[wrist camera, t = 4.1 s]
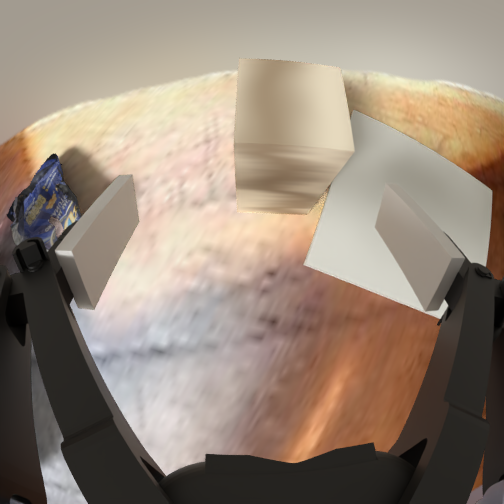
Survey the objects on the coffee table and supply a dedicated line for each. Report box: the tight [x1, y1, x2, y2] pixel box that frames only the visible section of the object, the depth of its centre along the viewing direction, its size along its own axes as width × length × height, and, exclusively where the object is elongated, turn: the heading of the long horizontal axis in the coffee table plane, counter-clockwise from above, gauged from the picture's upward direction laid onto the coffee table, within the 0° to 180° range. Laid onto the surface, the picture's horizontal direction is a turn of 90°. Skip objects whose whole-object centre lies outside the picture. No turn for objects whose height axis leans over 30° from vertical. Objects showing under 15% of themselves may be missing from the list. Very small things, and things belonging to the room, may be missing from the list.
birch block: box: [234, 59, 355, 215], centre depth 20 cm, size 6×6×12 cm
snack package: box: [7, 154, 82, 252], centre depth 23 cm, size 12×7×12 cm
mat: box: [303, 110, 492, 319], centre depth 26 cm, size 20×17×1 cm
